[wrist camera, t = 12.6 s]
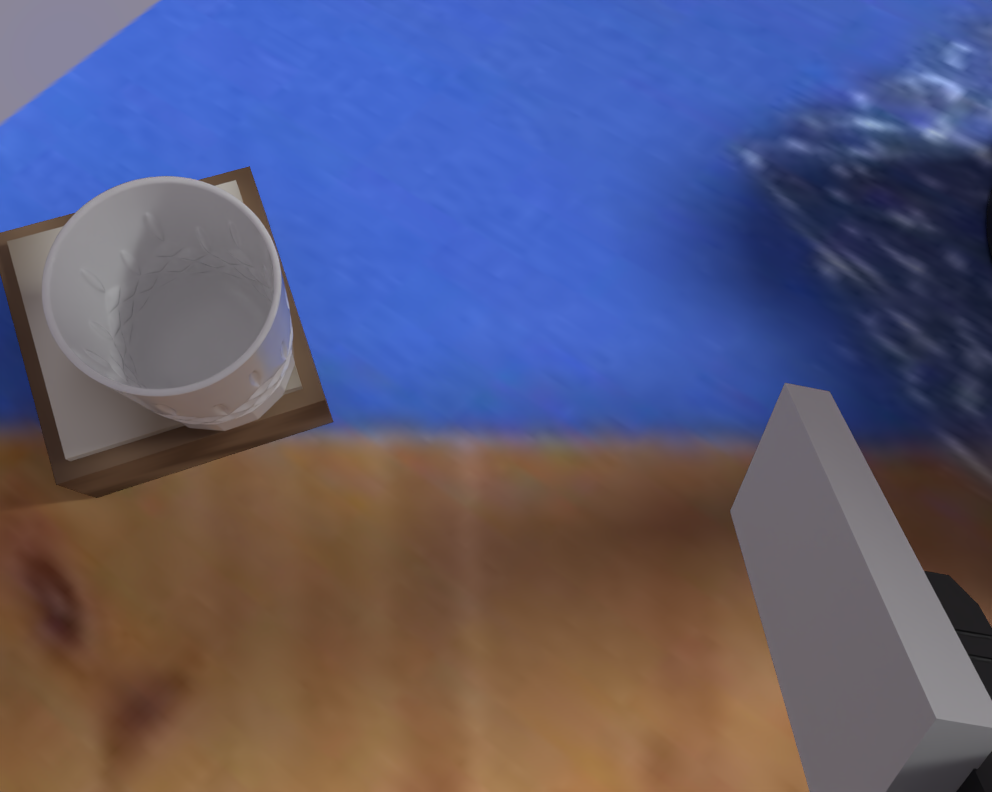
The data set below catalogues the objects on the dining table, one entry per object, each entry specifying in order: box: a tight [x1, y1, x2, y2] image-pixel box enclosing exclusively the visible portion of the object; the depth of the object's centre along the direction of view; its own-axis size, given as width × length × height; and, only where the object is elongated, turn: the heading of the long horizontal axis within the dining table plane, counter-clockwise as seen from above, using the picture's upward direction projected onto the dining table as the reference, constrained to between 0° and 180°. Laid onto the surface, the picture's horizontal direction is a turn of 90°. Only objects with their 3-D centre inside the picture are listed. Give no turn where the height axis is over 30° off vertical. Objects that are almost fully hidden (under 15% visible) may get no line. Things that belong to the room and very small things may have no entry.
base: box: [0, 166, 333, 498], centre depth 43 cm, size 12×12×6 cm
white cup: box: [42, 176, 295, 431], centre depth 36 cm, size 8×8×10 cm
